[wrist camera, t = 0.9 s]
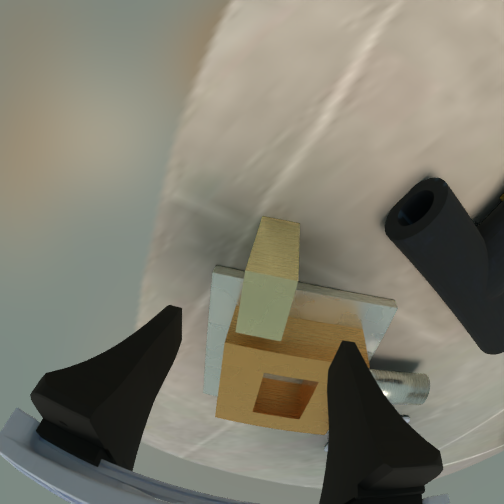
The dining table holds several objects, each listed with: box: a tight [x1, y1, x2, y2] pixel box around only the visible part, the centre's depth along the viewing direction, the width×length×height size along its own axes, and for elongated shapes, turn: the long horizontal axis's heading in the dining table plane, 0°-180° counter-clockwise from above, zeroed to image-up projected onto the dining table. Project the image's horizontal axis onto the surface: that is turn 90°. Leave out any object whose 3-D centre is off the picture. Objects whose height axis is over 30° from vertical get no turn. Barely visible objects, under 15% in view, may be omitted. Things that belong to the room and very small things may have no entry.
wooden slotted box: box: [203, 266, 430, 435], centre depth 24 cm, size 15×20×5 cm
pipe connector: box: [385, 178, 504, 354], centre depth 16 cm, size 12×5×15 cm
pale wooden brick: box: [236, 216, 300, 341], centre depth 18 cm, size 4×2×7 cm, turn 172°
